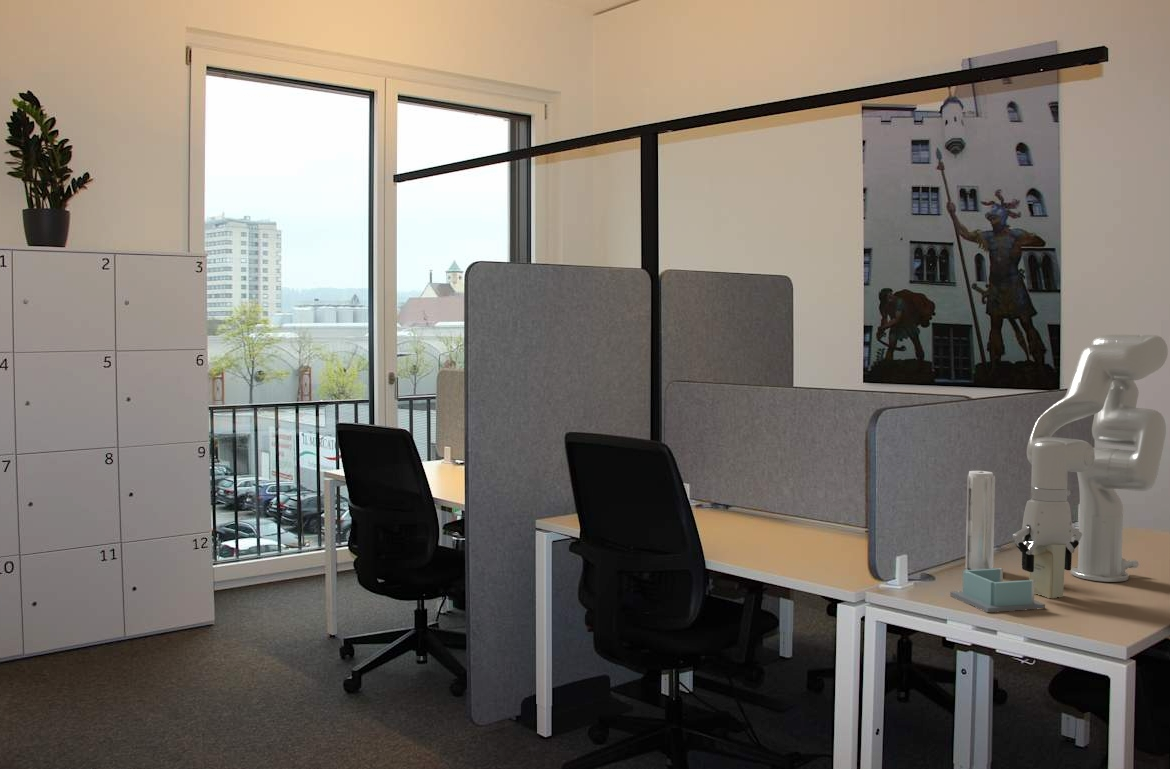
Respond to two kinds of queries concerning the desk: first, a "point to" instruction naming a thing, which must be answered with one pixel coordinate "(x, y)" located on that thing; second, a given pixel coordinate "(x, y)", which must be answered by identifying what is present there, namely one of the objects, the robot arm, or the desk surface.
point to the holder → (996, 591)
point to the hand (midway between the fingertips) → (1046, 569)
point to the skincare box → (1049, 570)
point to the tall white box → (980, 520)
